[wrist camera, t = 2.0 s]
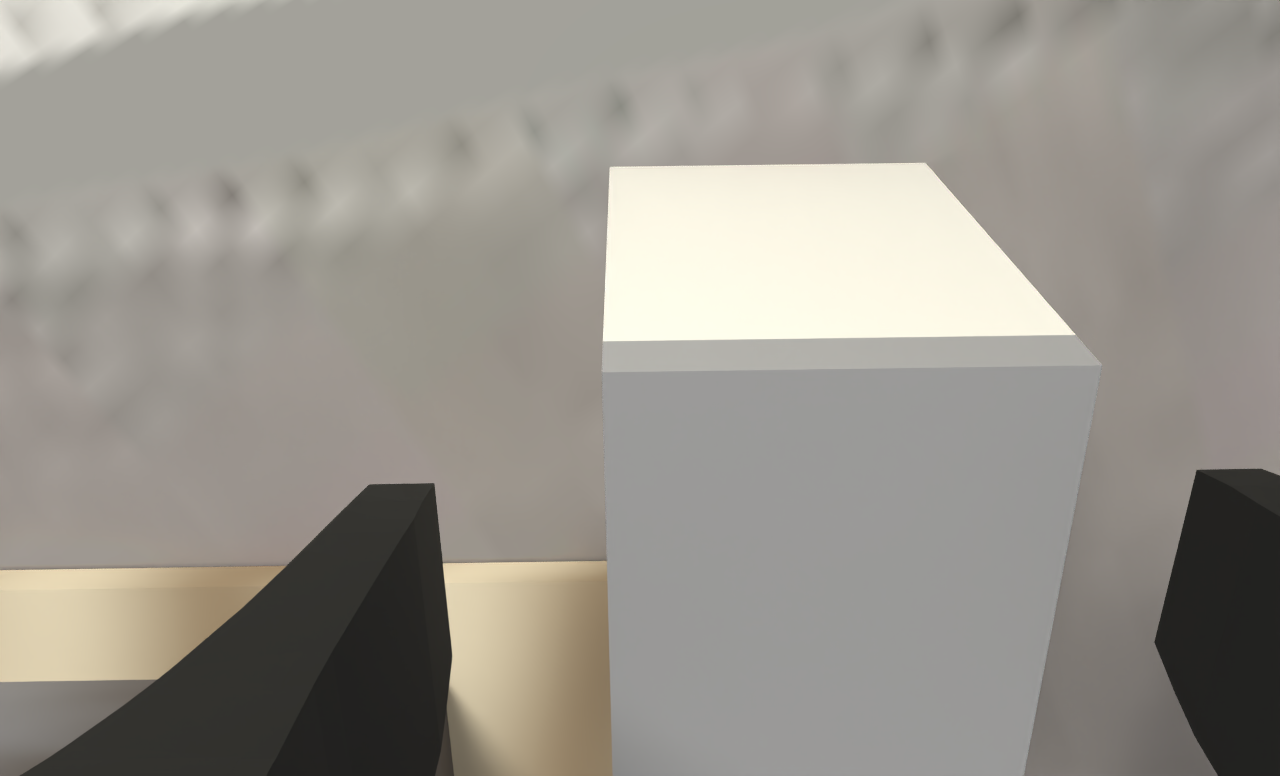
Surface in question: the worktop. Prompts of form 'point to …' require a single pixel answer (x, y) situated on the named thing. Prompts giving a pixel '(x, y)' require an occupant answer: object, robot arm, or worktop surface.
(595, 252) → the worktop surface
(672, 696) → the plug
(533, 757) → the socket
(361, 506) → the robot arm
